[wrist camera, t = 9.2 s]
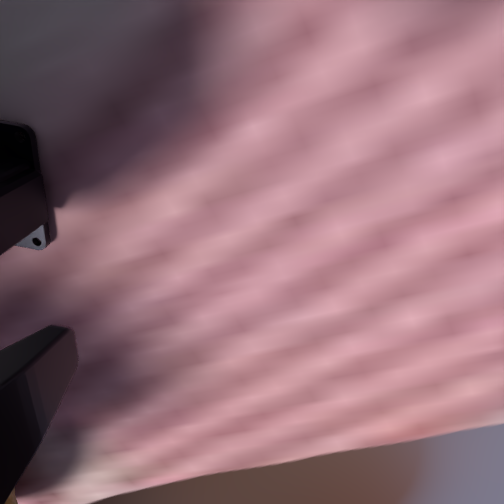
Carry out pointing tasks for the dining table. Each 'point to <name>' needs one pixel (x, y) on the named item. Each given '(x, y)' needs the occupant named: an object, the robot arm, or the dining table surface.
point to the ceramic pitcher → (11, 498)
